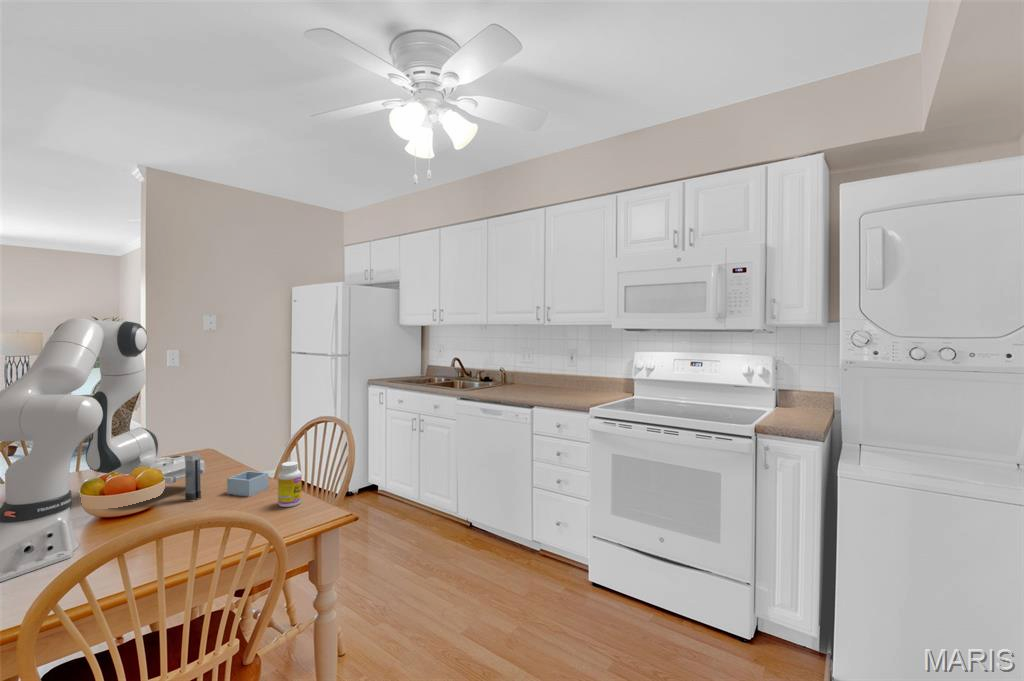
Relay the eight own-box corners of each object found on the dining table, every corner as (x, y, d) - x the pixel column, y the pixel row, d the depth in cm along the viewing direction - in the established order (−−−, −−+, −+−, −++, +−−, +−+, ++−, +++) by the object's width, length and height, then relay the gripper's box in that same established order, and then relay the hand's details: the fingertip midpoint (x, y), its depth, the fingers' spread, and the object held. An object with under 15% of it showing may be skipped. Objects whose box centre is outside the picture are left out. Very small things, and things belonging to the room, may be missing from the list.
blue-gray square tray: (249, 496, 158) (249, 480, 157) (227, 494, 160) (227, 478, 159) (268, 488, 166) (268, 472, 166) (247, 485, 168) (247, 470, 168)
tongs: (192, 501, 153) (192, 456, 152) (185, 500, 154) (184, 455, 153) (201, 498, 156) (200, 453, 155) (193, 497, 156) (193, 453, 156)
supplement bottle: (295, 508, 149) (295, 466, 148) (274, 507, 149) (273, 466, 148) (305, 500, 155) (304, 460, 155) (284, 499, 155) (284, 460, 155)
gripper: (123, 470, 149) (155, 475, 145) (186, 454, 169) (216, 458, 164) (123, 490, 150) (155, 496, 145) (186, 472, 169) (216, 476, 165)
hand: (188, 475), depth 155 cm, fingers open, 8 cm apart
